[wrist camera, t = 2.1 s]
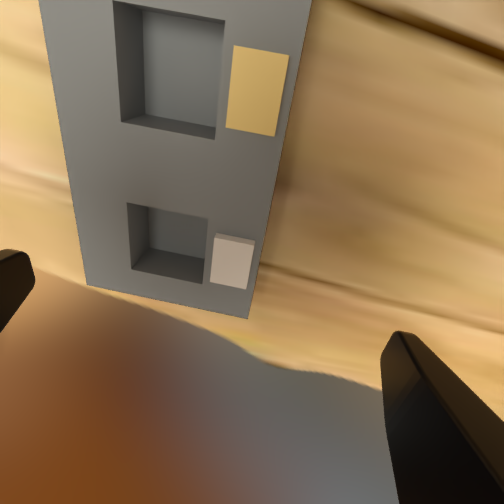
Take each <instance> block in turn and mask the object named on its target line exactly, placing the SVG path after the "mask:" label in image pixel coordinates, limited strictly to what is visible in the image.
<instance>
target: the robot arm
mask: <svg viewBox="0 0 504 504" xmlns="http://www.w3.org/2000/svg"><path fill="white" fill-rule="evenodd" d="M34 284H35V276H34V272H33V269H32V265H31V261H30V258H29V256H28V255H27V253H25V252H22V251H18V250H13V249H4V250H0V332H1V331H2V330H3V329H4V327H5V326H6V325H7V323H8V322H9V320H10V319H11V318H12V316H13V315H14V314H15V312H16V311H17V310H18V308H19V307H20V305H21V304H22V303H23V301H24V300H25V299H26V297H27V296H28V294H29V293H30V291H31V290H32V289H33V287H34ZM380 366H381V379H382V392H383V406H384V418H385V427H386V433H387V440H388V445H389V451H390V456H391V461H392V467H393V472H394V477H395V483H396V488H397V494H398V499H399V504H504V422H503V421H502V420H501V419H500V418H499V417H498V416H497V415H496V414H495V413H494V412H493V411H492V410H491V409H490V408H489V407H488V406H487V405H486V404H485V403H484V402H483V401H482V400H481V399H480V398H479V397H478V396H477V395H476V394H475V393H474V392H473V391H472V390H471V389H470V388H469V387H468V386H467V385H466V384H465V383H464V382H463V381H462V380H461V379H460V378H459V377H458V376H457V375H456V374H455V373H454V372H453V371H452V370H451V369H450V368H449V367H448V366H447V365H446V364H445V363H444V362H443V361H442V360H441V359H440V358H439V357H438V356H437V355H436V354H435V353H434V352H433V351H432V350H431V349H429V348H428V347H427V346H426V345H425V344H424V343H423V342H422V341H421V340H420V339H419V338H418V337H417V336H416V335H415V334H412V333H408V332H404V331H395V332H394V333H393V334H392V336H391V338H390V340H389V341H388V343H387V345H386V347H385V348H384V350H383V352H382V354H381V359H380Z"/></svg>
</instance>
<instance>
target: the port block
mask: <svg viewBox="0 0 504 504" xmlns="http://www.w3.org/2000/svg"><path fill="white" fill-rule="evenodd" d="M311 4H312V0H39V6H40V12H41V18H42V24H43V30H44V35H45V41H46V47H47V53H48V59H49V65H50V71H51V77H52V83H53V88H54V94H55V100H56V106H57V112H58V118H59V124H60V130H61V136H62V141H63V147H64V153H65V159H66V165H67V171H68V177H69V183H70V188H71V194H72V200H73V206H74V212H75V218H76V224H77V230H78V236H79V241H80V247H81V253H82V259H83V265H84V271H85V277H86V283H87V285H90V286H94V287H99V288H104V289H108V290H113V291H118V292H123V293H127V294H132V295H137V296H141V297H146V298H151V299H155V300H160V301H165V302H170V303H174V304H179V305H184V306H188V307H193V308H198V309H202V310H207V311H212V312H217V313H221V314H226V315H231V316H235V317H240V318H245V319H248V315H249V310H250V306H251V301H252V296H253V292H254V287H255V282H256V277H257V272H258V267H259V262H260V257H261V252H262V247H263V242H264V237H265V232H266V227H267V222H268V217H269V212H270V207H271V202H272V197H273V192H274V187H275V183H276V178H277V173H278V168H279V163H280V158H281V153H282V148H283V143H284V138H285V133H286V128H287V123H288V118H289V113H290V108H291V103H292V98H293V93H294V88H295V83H296V78H297V73H298V68H299V63H300V58H301V54H302V49H303V44H304V39H305V34H306V29H307V24H308V19H309V14H310V9H311Z"/></svg>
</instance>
